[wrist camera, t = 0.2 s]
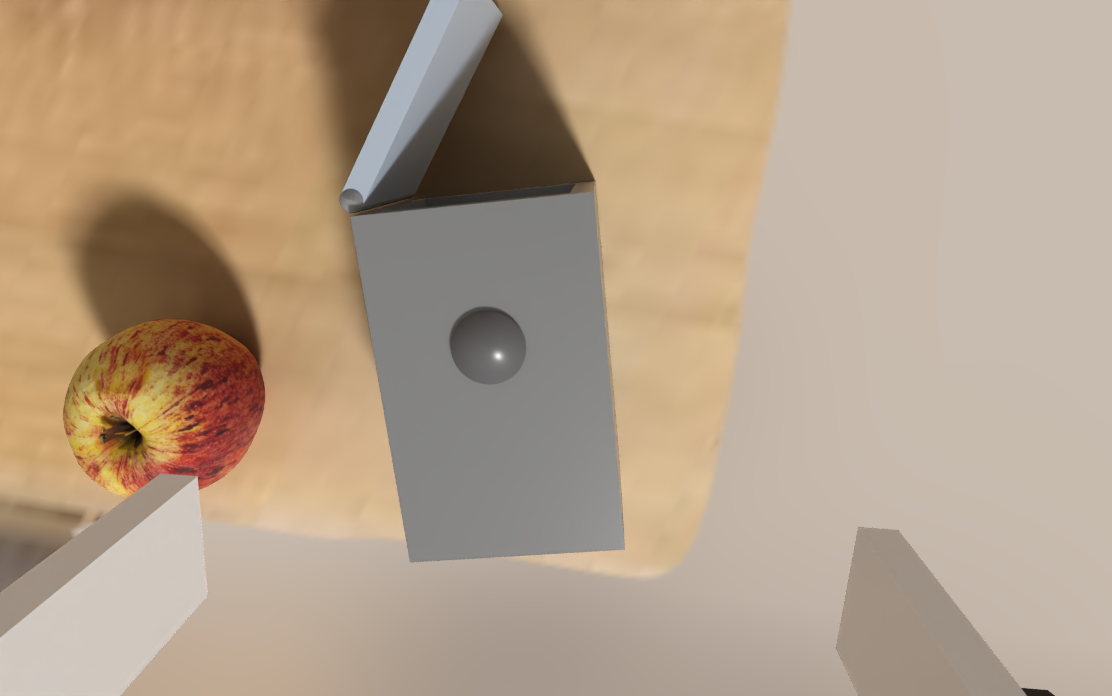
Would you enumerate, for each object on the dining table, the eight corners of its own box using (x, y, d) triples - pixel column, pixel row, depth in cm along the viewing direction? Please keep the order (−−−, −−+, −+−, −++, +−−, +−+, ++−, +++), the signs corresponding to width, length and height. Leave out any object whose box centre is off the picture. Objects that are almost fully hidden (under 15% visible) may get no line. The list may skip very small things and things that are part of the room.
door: (384, 186, 39) (322, 198, 30) (474, -2, 36) (435, -50, 27) (411, 202, 39) (357, 217, 30) (502, 14, 36) (472, -27, 28)
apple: (265, 471, 44) (172, 561, 35) (126, 409, 44) (-8, 482, 34) (316, 342, 42) (231, 400, 32) (170, 274, 41) (39, 312, 32)
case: (411, 199, 39) (348, 216, 30) (595, 180, 39) (593, 192, 29) (452, 470, 44) (408, 564, 34) (619, 458, 43) (625, 551, 33)
